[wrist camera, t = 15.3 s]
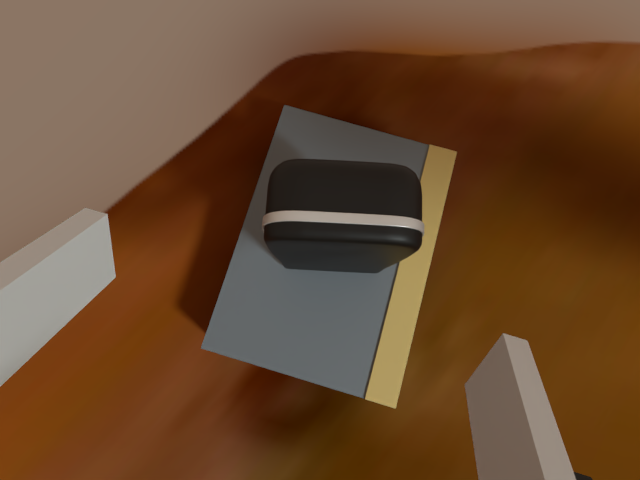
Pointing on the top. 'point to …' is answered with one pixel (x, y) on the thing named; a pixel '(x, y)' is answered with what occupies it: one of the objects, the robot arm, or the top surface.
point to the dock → (329, 276)
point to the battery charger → (342, 215)
